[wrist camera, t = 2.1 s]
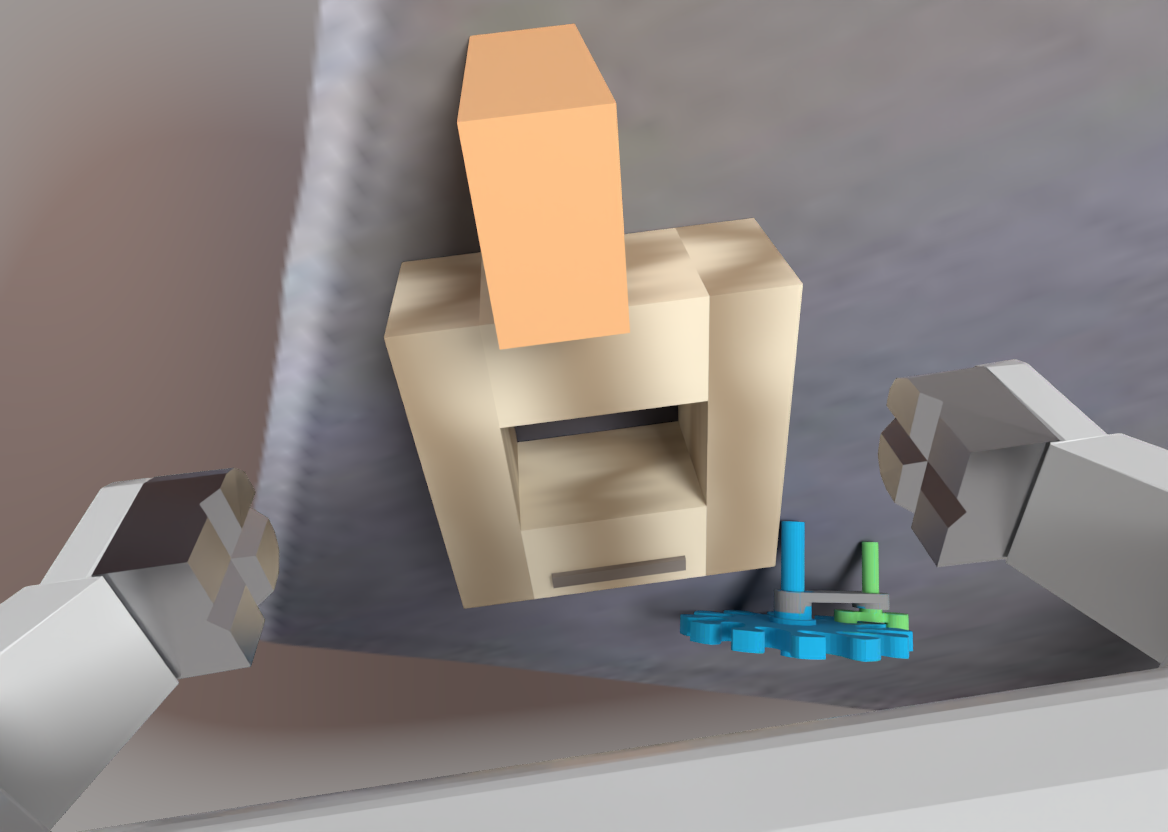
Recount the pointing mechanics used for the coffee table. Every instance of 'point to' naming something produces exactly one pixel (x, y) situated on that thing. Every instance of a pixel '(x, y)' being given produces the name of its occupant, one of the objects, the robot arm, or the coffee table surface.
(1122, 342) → the coffee table surface
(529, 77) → the key peg
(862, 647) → the gear
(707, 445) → the block
